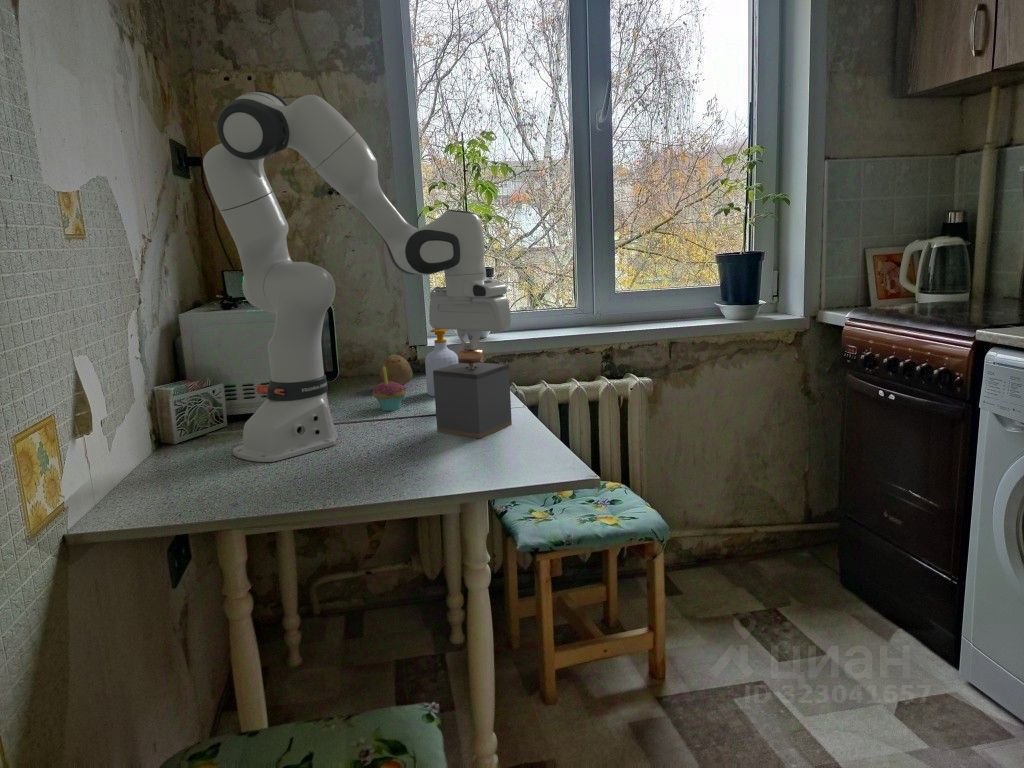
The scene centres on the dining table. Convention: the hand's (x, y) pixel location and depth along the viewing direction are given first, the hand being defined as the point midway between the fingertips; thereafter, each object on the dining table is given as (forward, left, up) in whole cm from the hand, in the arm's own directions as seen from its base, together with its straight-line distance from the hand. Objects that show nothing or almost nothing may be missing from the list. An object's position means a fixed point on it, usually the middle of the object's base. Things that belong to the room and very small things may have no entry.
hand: (470, 350), depth 155 cm
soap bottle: (+24, +29, -18) cm, 42 cm away
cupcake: (+5, +31, -18) cm, 36 cm away
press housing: (0, 0, -18) cm, 18 cm away
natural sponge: (+23, +46, -18) cm, 55 cm away
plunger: (0, 0, -15) cm, 15 cm away
